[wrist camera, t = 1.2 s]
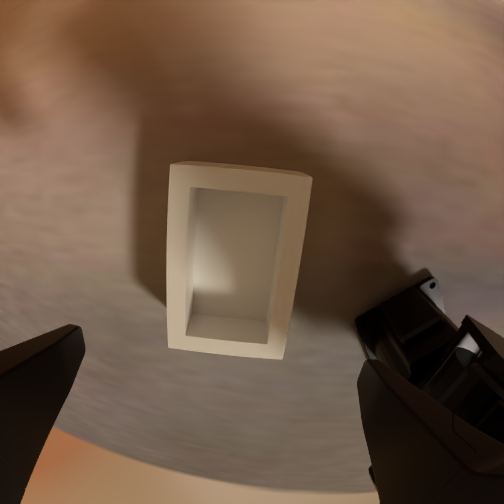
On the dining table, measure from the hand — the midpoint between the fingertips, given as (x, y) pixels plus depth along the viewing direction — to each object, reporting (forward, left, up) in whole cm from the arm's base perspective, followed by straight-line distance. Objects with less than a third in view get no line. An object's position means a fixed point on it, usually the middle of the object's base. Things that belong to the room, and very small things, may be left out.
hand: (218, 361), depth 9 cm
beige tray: (0, 0, -10) cm, 10 cm away
